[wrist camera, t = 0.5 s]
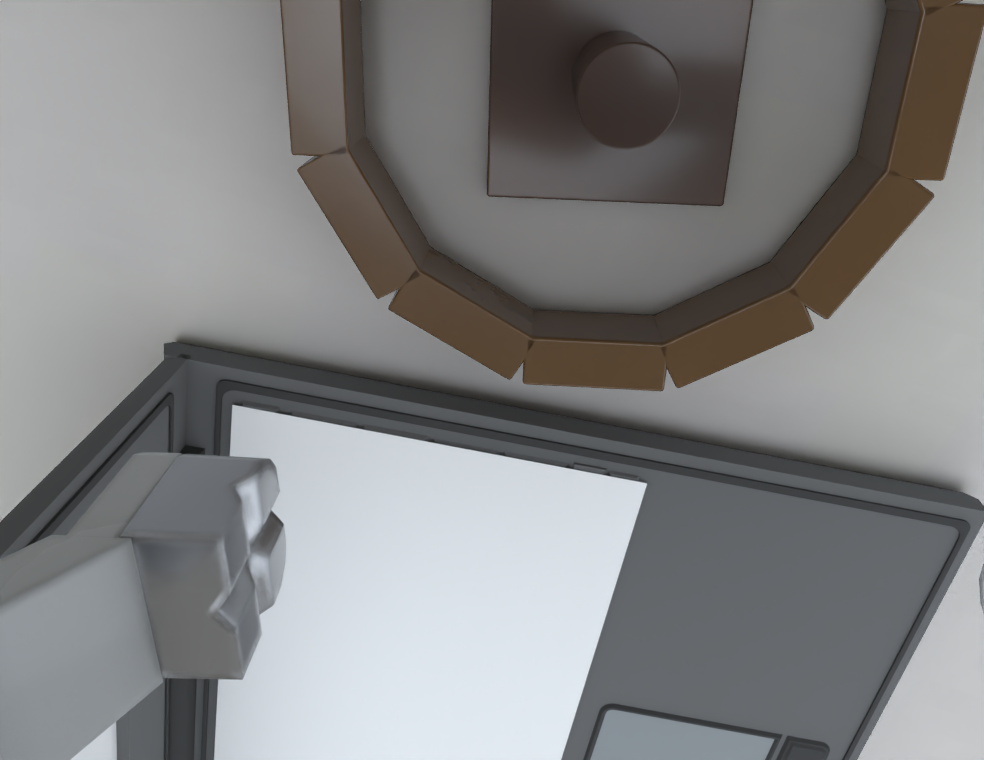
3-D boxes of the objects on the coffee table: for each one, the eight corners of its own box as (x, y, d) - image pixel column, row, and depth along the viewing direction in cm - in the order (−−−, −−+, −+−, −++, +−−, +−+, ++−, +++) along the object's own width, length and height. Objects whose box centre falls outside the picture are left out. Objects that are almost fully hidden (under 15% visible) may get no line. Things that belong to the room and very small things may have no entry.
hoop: (284, -320, 21) (253, -354, 18) (1022, -308, 20) (1080, -342, 18) (325, 343, 28) (307, 374, 26) (860, 370, 27) (887, 404, 25)
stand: (494, -68, 23) (480, -79, 18) (757, -61, 22) (810, -70, 18) (487, 192, 26) (474, 237, 21) (719, 202, 25) (756, 250, 21)
